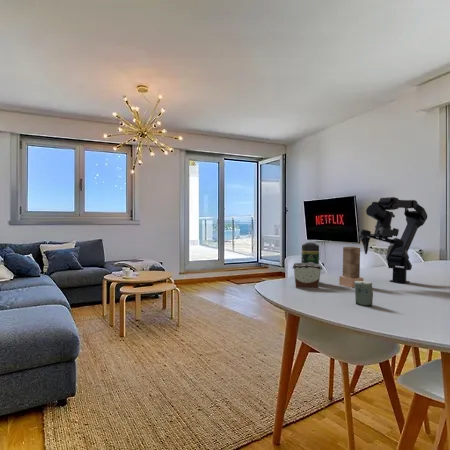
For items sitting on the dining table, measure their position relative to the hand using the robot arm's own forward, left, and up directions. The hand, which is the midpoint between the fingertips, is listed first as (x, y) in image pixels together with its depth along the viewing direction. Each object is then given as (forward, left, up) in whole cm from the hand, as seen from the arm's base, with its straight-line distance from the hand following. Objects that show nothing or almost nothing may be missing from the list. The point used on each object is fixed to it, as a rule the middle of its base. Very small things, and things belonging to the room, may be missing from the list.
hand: (376, 256), depth 147 cm
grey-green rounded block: (+36, +18, -13) cm, 43 cm away
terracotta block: (+9, -6, -13) cm, 17 cm away
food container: (+29, -14, -13) cm, 35 cm away
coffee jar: (+20, -20, -13) cm, 31 cm away
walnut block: (+9, -6, -9) cm, 14 cm away
